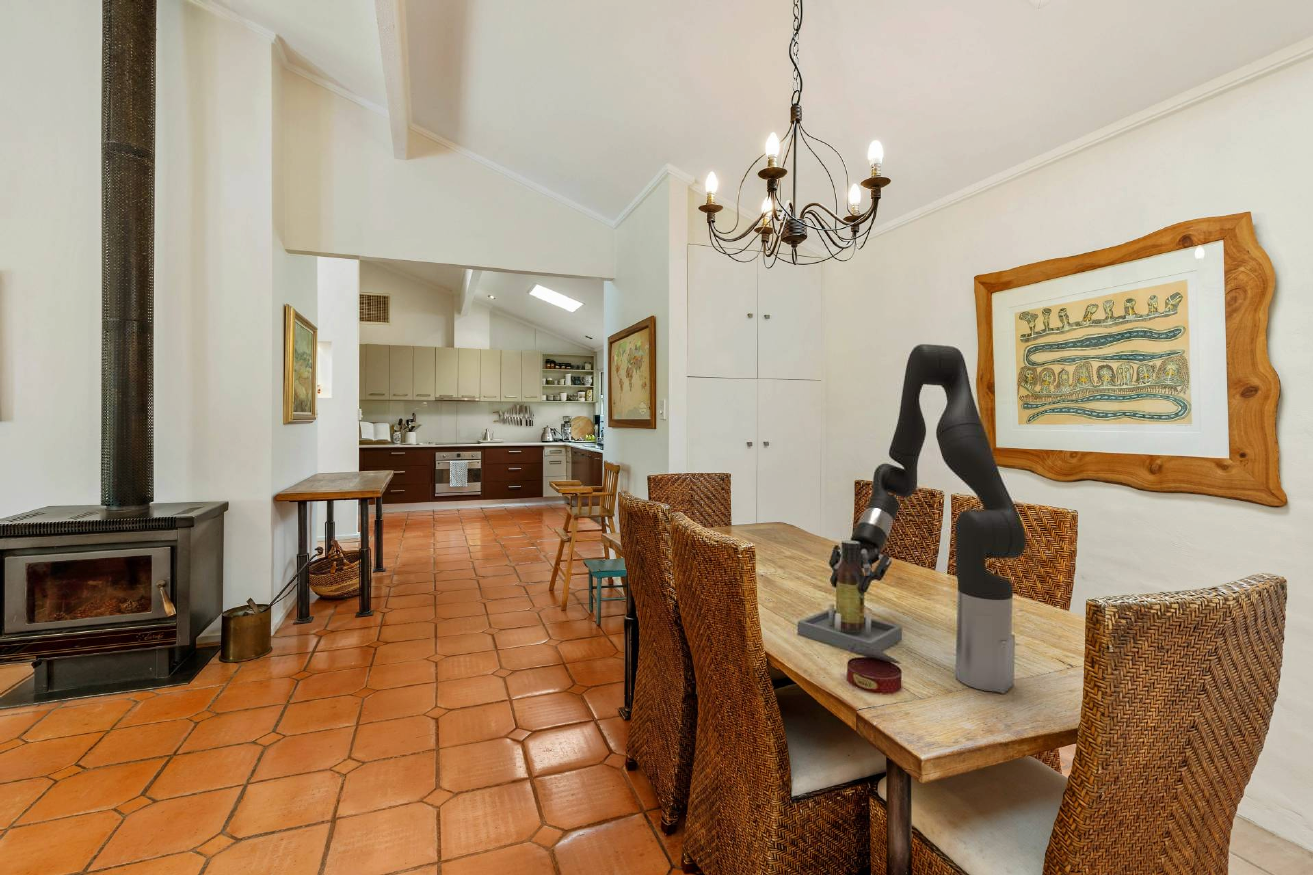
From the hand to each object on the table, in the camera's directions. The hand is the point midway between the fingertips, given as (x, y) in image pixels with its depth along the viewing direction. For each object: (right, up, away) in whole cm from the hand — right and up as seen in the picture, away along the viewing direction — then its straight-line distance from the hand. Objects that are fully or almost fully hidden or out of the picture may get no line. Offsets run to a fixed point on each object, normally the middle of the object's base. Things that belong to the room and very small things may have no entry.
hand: (846, 588), depth 133 cm
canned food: (-2, -13, -22) cm, 25 cm away
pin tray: (+1, -12, +1) cm, 12 cm away
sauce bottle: (+1, -9, +1) cm, 10 cm away
